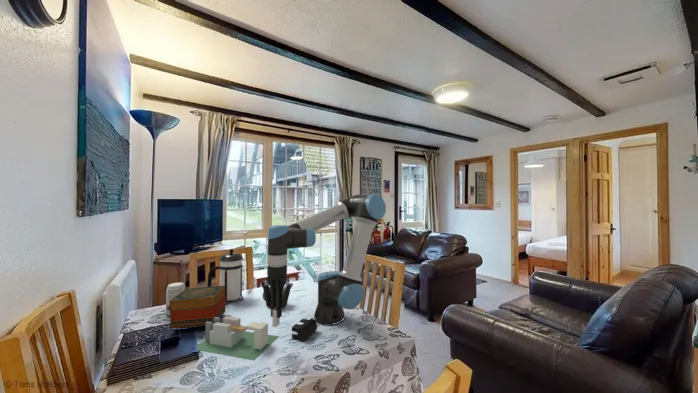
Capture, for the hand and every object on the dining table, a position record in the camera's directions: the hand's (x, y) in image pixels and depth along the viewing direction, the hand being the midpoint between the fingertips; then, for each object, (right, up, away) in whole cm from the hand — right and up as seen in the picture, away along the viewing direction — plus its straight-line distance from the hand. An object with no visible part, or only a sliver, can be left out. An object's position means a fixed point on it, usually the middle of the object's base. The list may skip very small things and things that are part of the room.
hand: (275, 325), depth 107 cm
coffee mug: (-13, -11, +46) cm, 49 cm away
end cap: (+9, -11, +11) cm, 18 cm away
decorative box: (-43, -11, +24) cm, 50 cm away
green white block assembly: (-17, -10, +5) cm, 21 cm away
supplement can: (-62, -11, +35) cm, 72 cm away
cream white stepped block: (-8, -9, +3) cm, 13 cm away
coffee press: (-41, -11, +53) cm, 68 cm away
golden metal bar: (-21, -4, +6) cm, 22 cm away
